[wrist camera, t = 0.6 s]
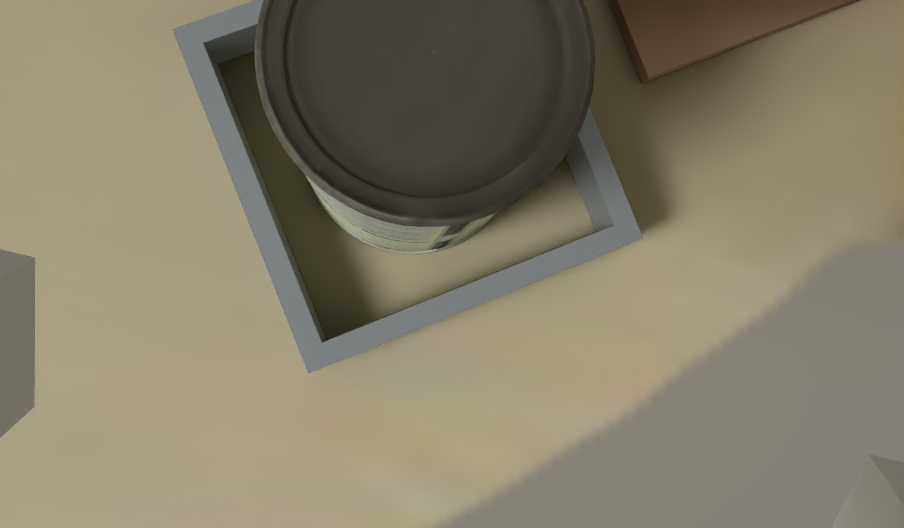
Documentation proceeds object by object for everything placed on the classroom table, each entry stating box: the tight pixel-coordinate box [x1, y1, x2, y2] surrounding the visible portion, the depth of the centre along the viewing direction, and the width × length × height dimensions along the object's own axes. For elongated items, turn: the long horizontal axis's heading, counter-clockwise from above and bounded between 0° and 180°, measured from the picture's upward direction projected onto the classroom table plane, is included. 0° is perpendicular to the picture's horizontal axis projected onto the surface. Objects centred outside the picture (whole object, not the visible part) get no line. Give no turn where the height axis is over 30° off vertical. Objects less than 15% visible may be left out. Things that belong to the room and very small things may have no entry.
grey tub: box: [173, 0, 643, 373], centre depth 36 cm, size 16×16×3 cm
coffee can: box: [255, 0, 595, 254], centre depth 30 cm, size 10×10×14 cm
